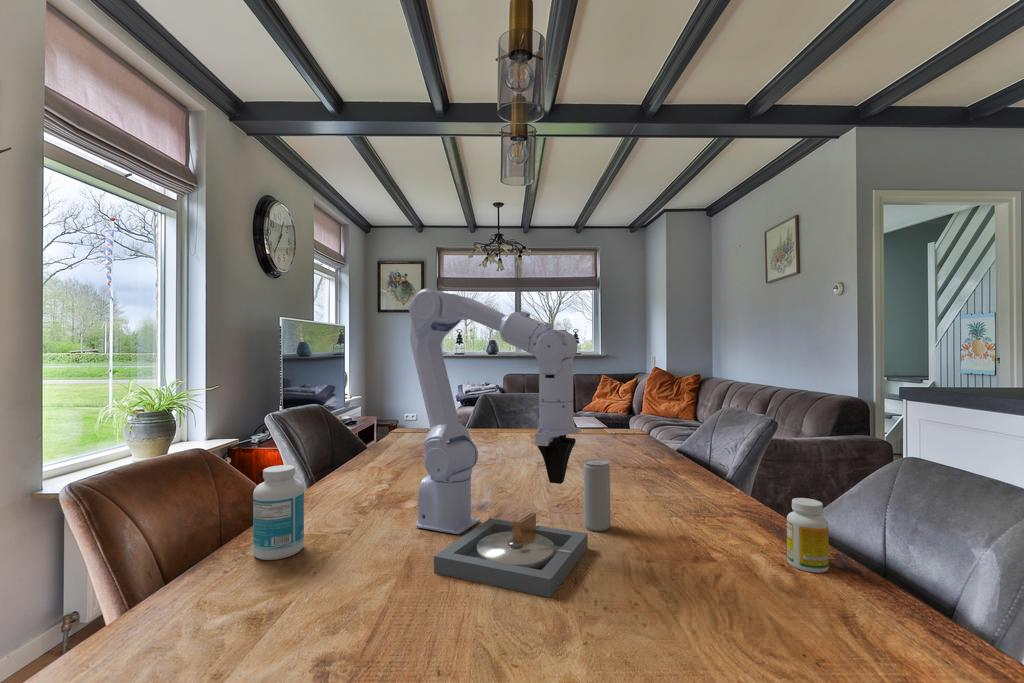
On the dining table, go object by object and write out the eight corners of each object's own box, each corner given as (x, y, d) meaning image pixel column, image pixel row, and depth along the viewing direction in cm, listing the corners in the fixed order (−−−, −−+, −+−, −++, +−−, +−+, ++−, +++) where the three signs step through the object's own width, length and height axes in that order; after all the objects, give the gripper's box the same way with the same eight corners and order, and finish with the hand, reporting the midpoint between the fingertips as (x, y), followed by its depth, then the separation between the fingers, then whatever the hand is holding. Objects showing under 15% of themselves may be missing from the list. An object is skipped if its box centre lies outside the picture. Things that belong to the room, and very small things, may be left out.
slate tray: (433, 572, 70) (434, 553, 71) (489, 531, 87) (489, 516, 87) (550, 597, 63) (550, 576, 63) (587, 548, 79) (587, 531, 80)
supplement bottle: (779, 562, 74) (778, 498, 74) (801, 555, 76) (800, 494, 77) (814, 576, 69) (813, 508, 69) (837, 569, 71) (836, 503, 72)
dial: (532, 578, 67) (532, 541, 67) (461, 560, 73) (461, 527, 73) (566, 548, 77) (566, 516, 77) (501, 534, 83) (501, 505, 83)
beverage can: (610, 533, 86) (609, 465, 86) (583, 531, 87) (582, 464, 87) (610, 523, 91) (609, 459, 91) (584, 522, 92) (584, 458, 92)
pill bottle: (282, 540, 83) (283, 461, 83) (313, 548, 80) (314, 465, 80) (241, 556, 76) (243, 470, 77) (273, 565, 73) (275, 475, 73)
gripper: (565, 405, 73) (565, 496, 73) (590, 398, 86) (591, 475, 86) (522, 404, 76) (522, 491, 76) (553, 396, 89) (553, 471, 89)
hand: (556, 482), depth 81 cm, fingers closed
